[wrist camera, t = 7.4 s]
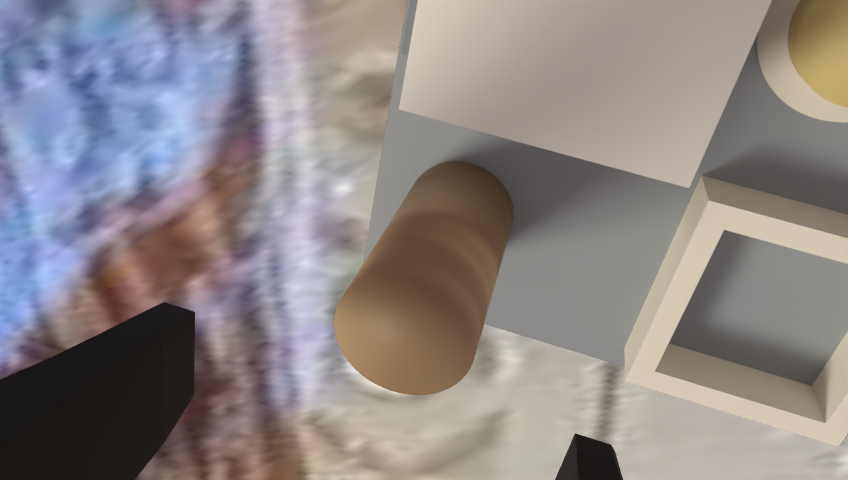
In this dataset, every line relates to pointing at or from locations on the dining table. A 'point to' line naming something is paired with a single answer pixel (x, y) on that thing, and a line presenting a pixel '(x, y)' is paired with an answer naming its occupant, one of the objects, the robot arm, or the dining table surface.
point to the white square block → (584, 74)
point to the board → (684, 236)
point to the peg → (428, 282)
